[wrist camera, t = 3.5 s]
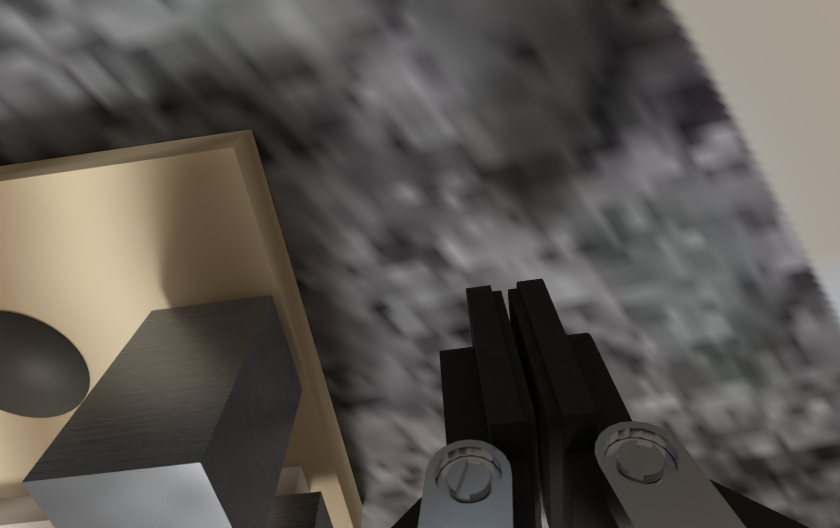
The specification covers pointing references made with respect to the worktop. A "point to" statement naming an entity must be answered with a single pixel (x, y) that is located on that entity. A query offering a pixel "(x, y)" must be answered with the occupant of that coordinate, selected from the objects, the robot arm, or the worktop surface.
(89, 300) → the bolt plate
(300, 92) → the worktop surface
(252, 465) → the leg
